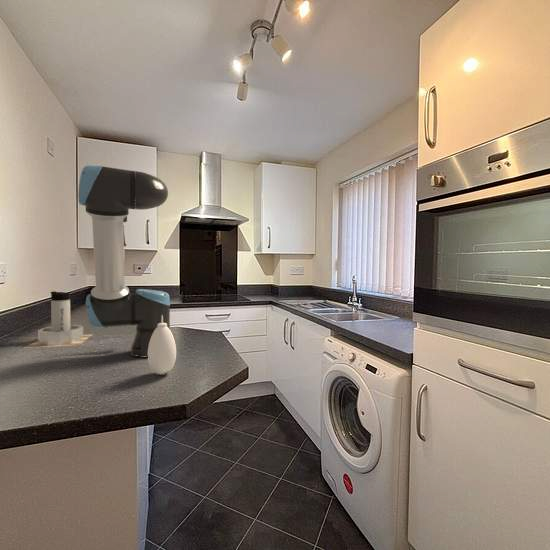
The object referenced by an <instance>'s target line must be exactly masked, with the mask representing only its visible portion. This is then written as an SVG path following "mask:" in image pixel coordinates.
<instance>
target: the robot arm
mask: <svg viewBox="0 0 550 550" xmlns="http://www.w3.org/2000/svg"><path fill="white" fill-rule="evenodd" d="M77 192H78V193H77V198H78V203H79V205H82V206H84V207H85V213H86V214H87V215H89V217H91V221H92V222H91V224H92V242H93V257H94V258H93V259H94V277H95V278H94V279H95V286H94V287H93V288H92V289H91V290H90V294H89V293H88V294H87V296H86V298H85V310H86V317H87V319H88V322H89V324H90V326H91V327H93V328H105V329H106V328H112V327H113V328H114V327H127V326H135V327H136V328H135V329H136V330H135V331H136V332H135V335H134V338H133V341H132V343H131V347H130V355H131V354H133V355H138V356H148V346H149V342H150V339H151V336H152V334H153V332H154V330H155V329H156V328H157V327H158V326H157V325H158V324H159V323H161V318H162V315H163V323H166V324H167V327H168V328H169V329H170V330H171V328H170V327H171V326H170V324H171V323H170V322H171V321H170V320H171V315H170V314H171V313H170V311H171V310H170V309H171V307H170V306H171V303H170V301H171V300H170V299H171V298H170V295H169V293H168V292H166V291H162V290H155V289H147V288H145V289H144V288H138V289H136V291H135V293H133V292H132V293H131V292H130V289H129V287H128V286H127V285H125V247H127V244H126V238H125V237H126V236H125V225H124V223H127V222H128V216H129V210H139V211H140V210H149V209H154V208H158V207H160V206H161V205H164V203H165V202H166V201H167V200H168V196H169V190H168V187H167V185H166V183H165V182H164V181H163V180H162V179H160V178H158V177H156V176H154V175H152V174H149V173H146V172H143V171H136V170H128V169H121V168H116V167H108V166H102V165H92V164H91V165H86V166H84V167H82V170H81V173H80V177H79V183H78V191H77Z"/></svg>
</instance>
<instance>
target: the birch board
mask: <svg viewBox="0 0 550 550" xmlns="http://www.w3.org/2000/svg"><path fill="white" fill-rule="evenodd" d="M93 335H94V333H93V334H83V339H82V340H80V341H77V342H74V343H69V344H62V345H49V346H47V345H40V344H39V343H38V340H37V341H35V342H32V343H30V344H28V345H26V346H24V347H23V349H32V348H51V347H66V346H68V347H69V346H70V347H71V346H80V345H81V344H83V343H84V342H85V341H87V340H88V339H89V338H90V337H92V336H93Z"/></svg>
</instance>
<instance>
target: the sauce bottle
mask: <svg viewBox="0 0 550 550" xmlns="http://www.w3.org/2000/svg"><path fill="white" fill-rule="evenodd" d="M157 326H158V327H157V328H156V329H155V330H154V332H153V334H152V336H151V339H150V342H149V346H148V358H147V361H148V366H149V367H150V369H151V371H152V372H153V373H155V374H156V373H163V372H167V371H169V372H170V371H171V370H172V369H173V368H174V366H175V363H176V360H177V359H176V358H177V345H176V342H175V338H174V336H173V333H172V331H171V328H170V329H169V328H168V327H167V324H166V323H163V315H162V318H161V323H159V324H158V325H157Z"/></svg>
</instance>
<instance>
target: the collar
mask: <svg viewBox="0 0 550 550" xmlns="http://www.w3.org/2000/svg"><path fill="white" fill-rule="evenodd" d="M83 335H84V326H83V325H81V324H79V325H78V324H70V330H67V331H59V332H51V326H47V327H42V328H41V329H38V330H37V341H38V343H39V344H40V345H47V346H49V345H62V344H69V343H74V342H77V341H80V340H82V339H83Z"/></svg>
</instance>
